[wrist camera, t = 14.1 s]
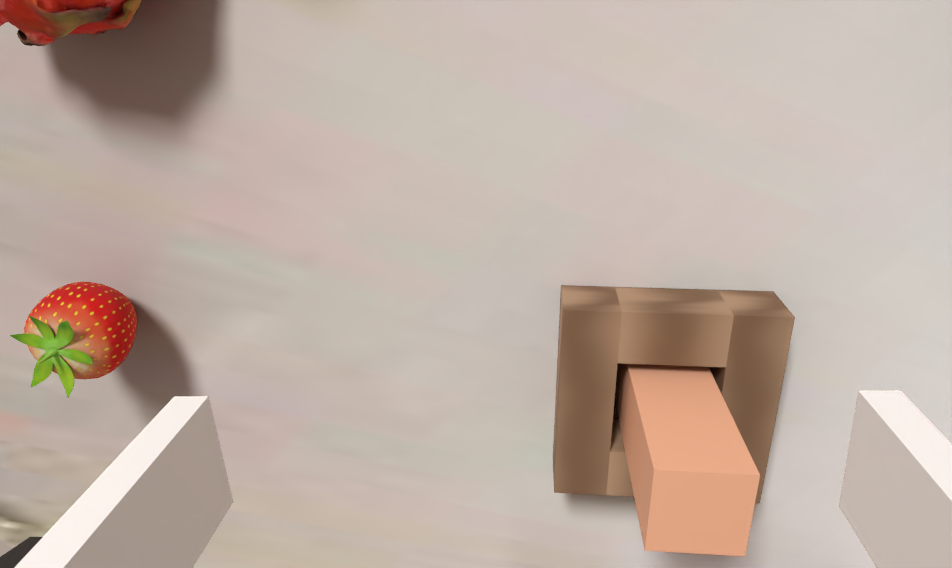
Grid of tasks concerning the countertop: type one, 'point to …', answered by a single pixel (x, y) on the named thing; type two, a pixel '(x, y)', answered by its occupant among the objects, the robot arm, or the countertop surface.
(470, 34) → the countertop surface
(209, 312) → the countertop surface
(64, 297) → the fruit
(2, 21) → the dragon fruit
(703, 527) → the peg
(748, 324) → the socket
